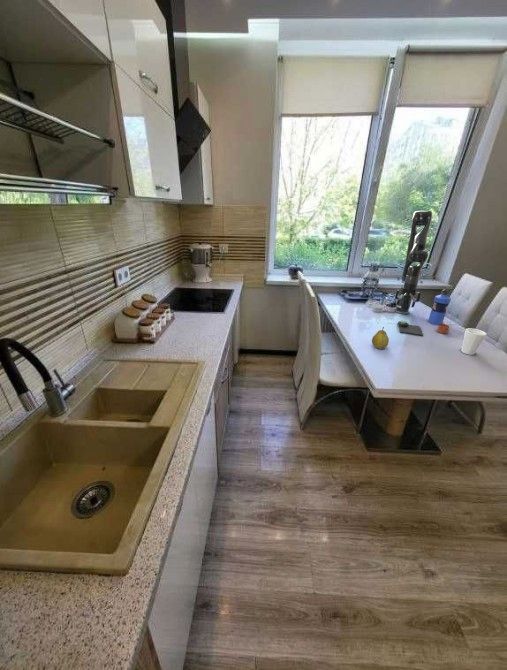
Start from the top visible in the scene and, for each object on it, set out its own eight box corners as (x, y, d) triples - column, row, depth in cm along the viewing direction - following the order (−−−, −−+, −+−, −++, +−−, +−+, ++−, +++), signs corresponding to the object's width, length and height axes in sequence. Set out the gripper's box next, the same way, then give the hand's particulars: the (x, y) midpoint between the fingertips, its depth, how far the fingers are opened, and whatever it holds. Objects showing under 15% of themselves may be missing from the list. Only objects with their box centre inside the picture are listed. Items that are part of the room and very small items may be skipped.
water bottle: (428, 323, 198) (439, 289, 188) (426, 319, 206) (437, 286, 196) (443, 325, 195) (455, 291, 185) (441, 321, 203) (452, 288, 192)
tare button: (400, 322, 193) (400, 320, 193) (405, 323, 192) (406, 321, 191) (400, 324, 190) (401, 321, 189) (406, 324, 189) (407, 322, 188)
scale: (397, 323, 196) (397, 320, 195) (418, 327, 191) (419, 323, 190) (398, 332, 182) (399, 328, 181) (422, 336, 178) (423, 332, 176)
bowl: (435, 329, 188) (438, 323, 186) (446, 331, 186) (448, 324, 184) (437, 333, 183) (440, 326, 180) (448, 334, 181) (450, 327, 178)
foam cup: (474, 350, 161) (482, 329, 156) (480, 357, 153) (489, 336, 148) (455, 347, 164) (463, 327, 159) (460, 354, 156) (469, 333, 151)
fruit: (380, 351, 156) (385, 332, 151) (367, 345, 163) (371, 326, 158) (390, 348, 160) (395, 329, 155) (377, 342, 167) (381, 324, 162)
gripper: (423, 282, 179) (416, 306, 185) (399, 279, 184) (393, 303, 191) (424, 285, 172) (417, 309, 179) (399, 282, 178) (393, 306, 184)
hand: (404, 306), depth 185 cm, fingers open, 8 cm apart
